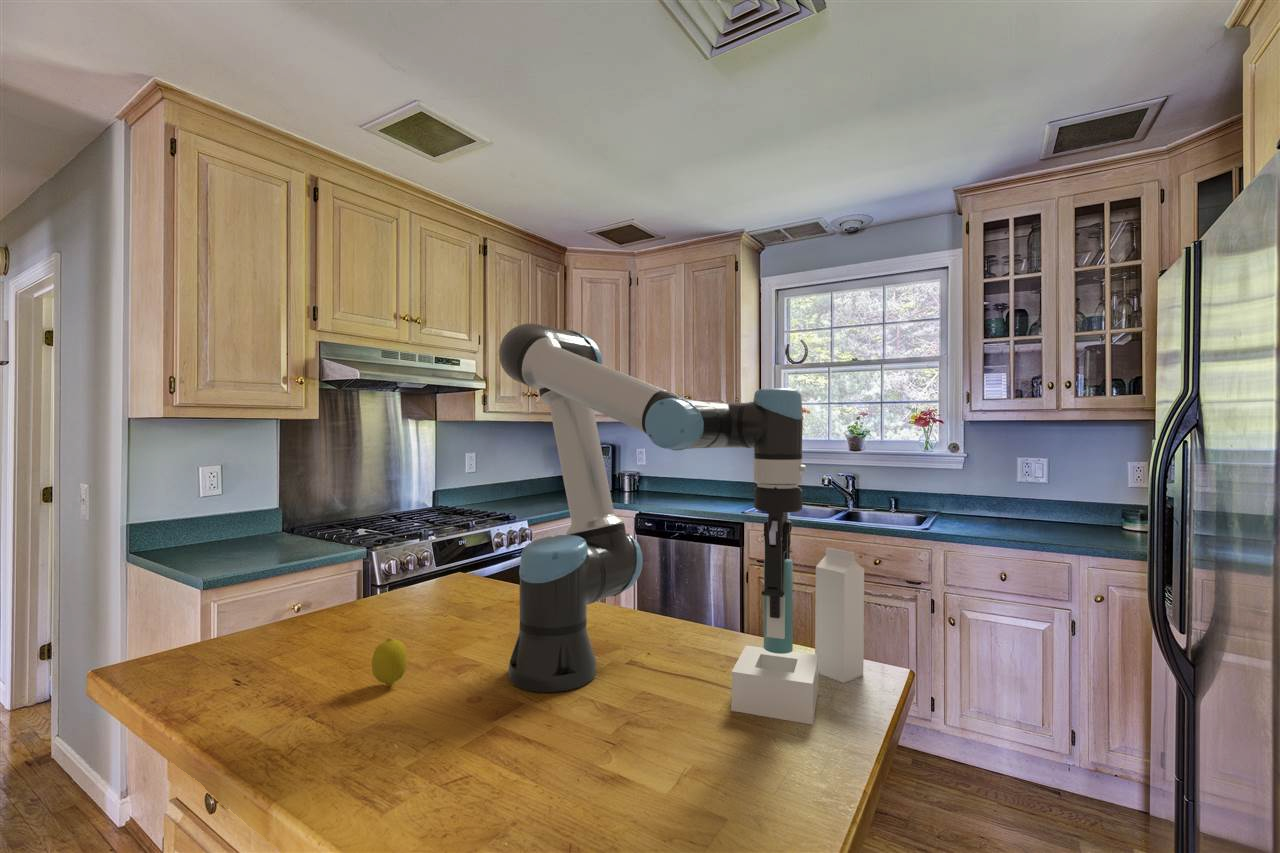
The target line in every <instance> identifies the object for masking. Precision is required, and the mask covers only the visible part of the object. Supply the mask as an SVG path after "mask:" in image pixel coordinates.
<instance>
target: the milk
mask: <svg viewBox="0 0 1280 853" xmlns="http://www.w3.org/2000/svg"><path fill="white" fill-rule="evenodd" d="M814 605H815V612H814V614H815V615H814V616H815V617H814V618H815V619H814V623H815V624H814V625H815V626H814V630H815V631H814V633H815V634H814V636H815V638H814V643H815V644H814V655H818V675H821V676H824V677H827V678H829V679H831V680H833V681H834V680H835V681H837V682H840V683H842V684H845V683H847V682H850V681H852V680H854V679H857V678H860V677H862V676H864V663H865V662H864V658H865V656H864V655H865V654H864V650H865V648H864V646H865V644H864V639H865V638H864V637H865V636H864V635H865V634H864V632H865V631H864V630H865V629H864V628H865V616H864V615H865V568H864V567H863V566H861V564H859V563H858V562H856V554H855V552H853V551H847V550H843V549H836V548H832V547H826V548H825V556H824V557H823V558H822V559H821V560H820V561H819V562H818V563H817V565H816V566H815V604H814Z"/></svg>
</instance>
